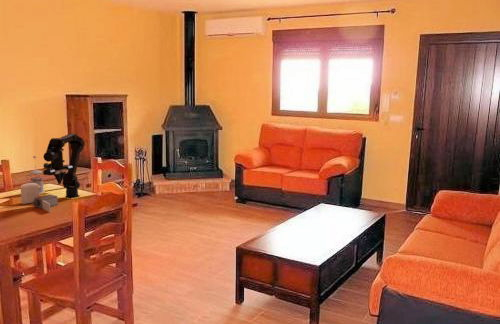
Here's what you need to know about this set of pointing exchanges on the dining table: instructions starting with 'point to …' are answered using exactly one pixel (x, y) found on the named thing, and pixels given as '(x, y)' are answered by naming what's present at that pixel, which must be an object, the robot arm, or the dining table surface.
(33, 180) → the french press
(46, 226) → the dining table surface
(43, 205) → the side door
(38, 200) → the camera body
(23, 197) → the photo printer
